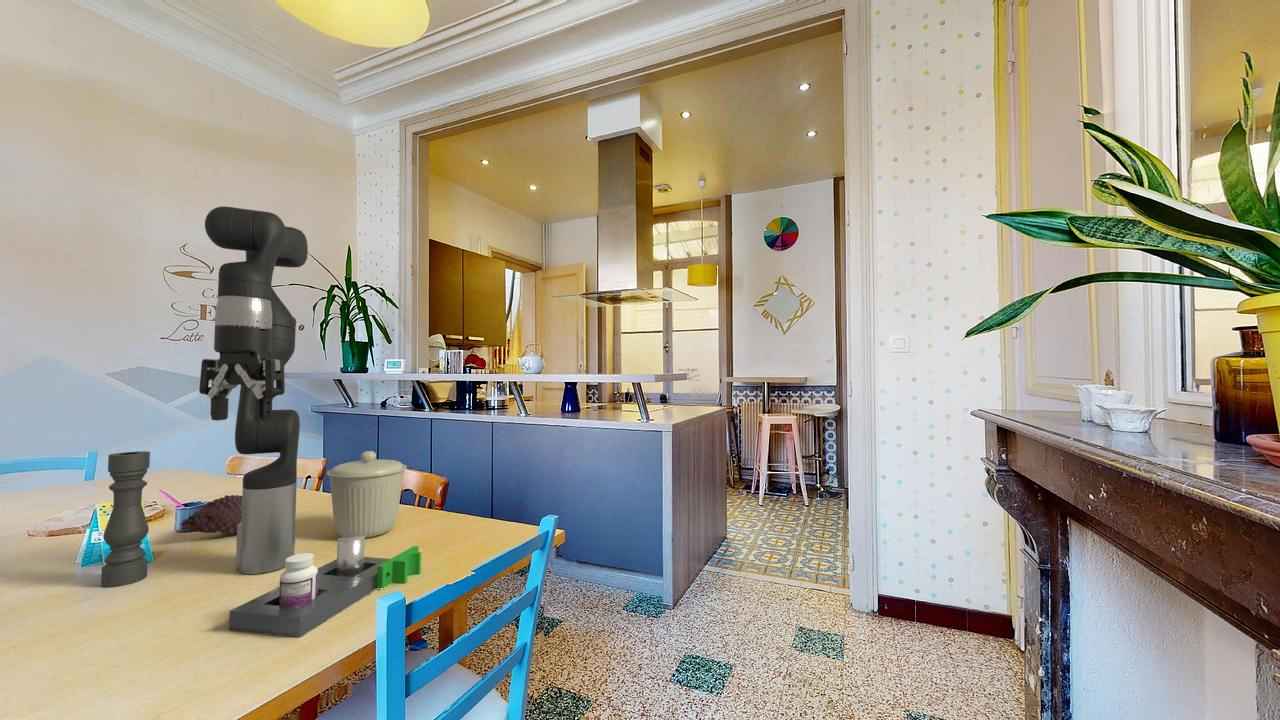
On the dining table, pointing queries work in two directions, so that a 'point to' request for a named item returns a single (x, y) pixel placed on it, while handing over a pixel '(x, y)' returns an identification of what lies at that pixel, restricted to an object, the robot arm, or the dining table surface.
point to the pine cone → (217, 516)
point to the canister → (366, 495)
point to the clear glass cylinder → (350, 555)
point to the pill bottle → (298, 581)
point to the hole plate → (298, 621)
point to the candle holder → (126, 520)
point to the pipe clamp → (399, 568)
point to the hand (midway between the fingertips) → (241, 420)
